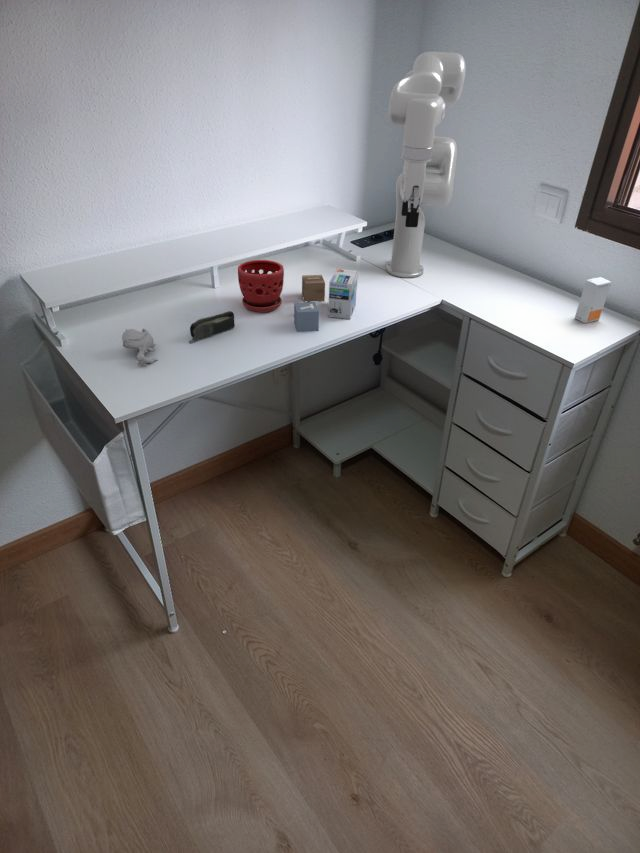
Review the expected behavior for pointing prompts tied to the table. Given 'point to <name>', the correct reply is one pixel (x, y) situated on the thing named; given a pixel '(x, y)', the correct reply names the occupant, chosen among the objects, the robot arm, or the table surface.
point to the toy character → (139, 344)
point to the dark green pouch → (212, 326)
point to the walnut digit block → (313, 288)
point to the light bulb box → (342, 293)
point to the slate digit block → (306, 317)
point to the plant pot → (261, 284)
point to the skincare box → (592, 299)
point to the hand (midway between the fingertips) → (409, 221)
